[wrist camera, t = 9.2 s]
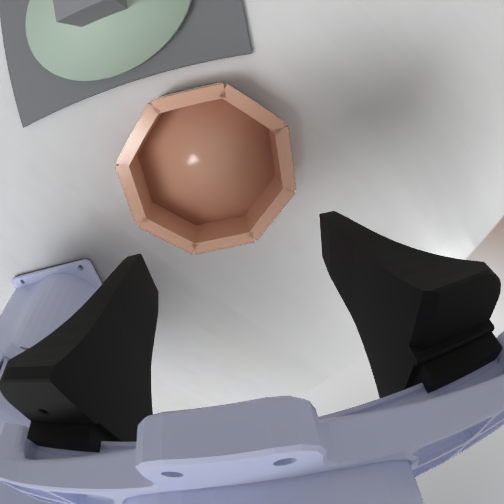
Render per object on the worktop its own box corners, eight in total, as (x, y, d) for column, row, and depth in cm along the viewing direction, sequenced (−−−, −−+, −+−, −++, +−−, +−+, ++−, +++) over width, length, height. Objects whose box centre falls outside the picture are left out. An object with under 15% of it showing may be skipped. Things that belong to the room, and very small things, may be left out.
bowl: (157, 240, 23) (151, 263, 20) (115, 110, 17) (100, 117, 15) (290, 212, 23) (300, 232, 20) (270, 73, 17) (280, 74, 15)
